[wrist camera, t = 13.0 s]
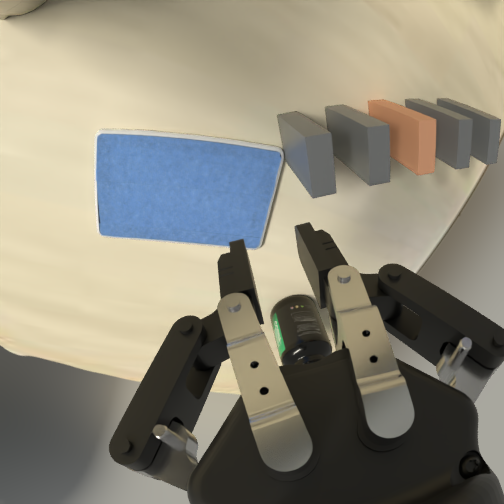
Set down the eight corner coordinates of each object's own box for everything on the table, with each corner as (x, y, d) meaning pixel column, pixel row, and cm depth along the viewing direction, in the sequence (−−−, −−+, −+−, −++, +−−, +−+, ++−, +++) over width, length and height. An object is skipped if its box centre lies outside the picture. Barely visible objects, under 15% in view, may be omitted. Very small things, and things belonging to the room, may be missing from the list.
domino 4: (406, 139, 30) (455, 169, 23) (405, 99, 27) (459, 119, 20) (419, 138, 30) (468, 167, 23) (418, 98, 27) (472, 119, 20)
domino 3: (371, 143, 30) (417, 175, 23) (367, 100, 27) (418, 120, 20) (385, 141, 30) (434, 172, 23) (383, 99, 27) (436, 119, 20)
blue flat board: (99, 232, 32) (96, 238, 31) (97, 126, 25) (92, 129, 24) (259, 245, 37) (260, 252, 35) (284, 145, 30) (287, 149, 29)
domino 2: (330, 151, 30) (369, 186, 23) (324, 106, 27) (367, 127, 20) (346, 148, 30) (389, 181, 23) (342, 104, 27) (389, 124, 20)
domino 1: (285, 160, 30) (312, 198, 23) (276, 114, 27) (304, 137, 20) (303, 156, 30) (336, 193, 23) (296, 111, 27) (331, 132, 20)
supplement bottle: (259, 314, 43) (275, 386, 33) (295, 286, 41) (321, 358, 31) (289, 330, 46) (308, 396, 37) (323, 306, 44) (350, 372, 34)
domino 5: (436, 136, 30) (486, 164, 23) (436, 98, 27) (490, 119, 20) (447, 135, 30) (496, 163, 23) (447, 98, 27) (500, 119, 20)
